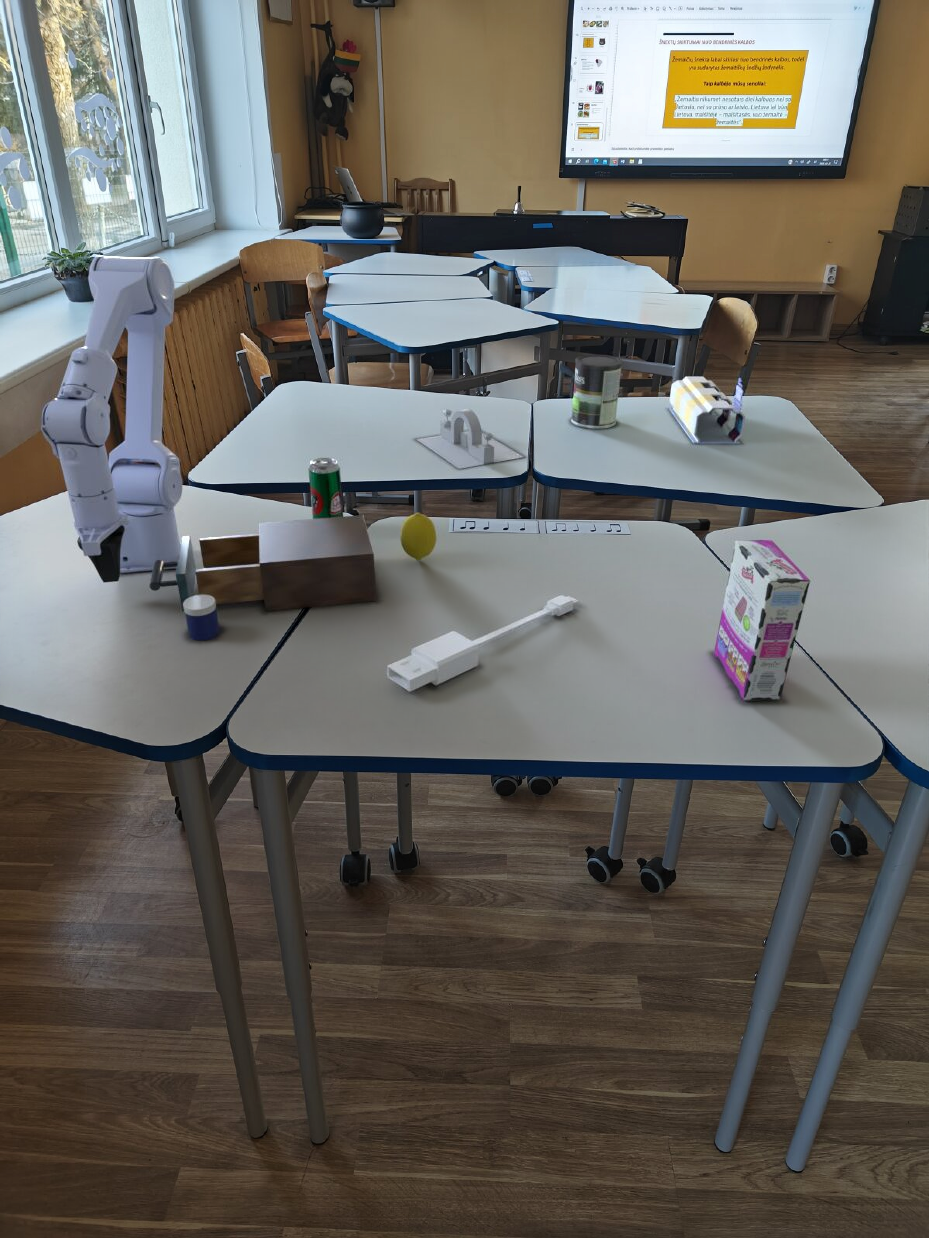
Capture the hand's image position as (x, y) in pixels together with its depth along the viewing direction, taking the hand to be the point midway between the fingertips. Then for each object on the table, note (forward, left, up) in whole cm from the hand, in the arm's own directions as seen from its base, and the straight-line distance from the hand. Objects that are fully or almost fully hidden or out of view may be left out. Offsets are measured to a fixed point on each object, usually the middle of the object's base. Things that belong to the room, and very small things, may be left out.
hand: (111, 579), depth 120 cm
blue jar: (+13, -11, -4) cm, 17 cm away
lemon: (+45, +5, -4) cm, 45 cm away
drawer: (+15, 0, -3) cm, 15 cm away
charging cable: (+50, -22, -4) cm, 54 cm away
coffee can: (+96, +67, -4) cm, 117 cm away
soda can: (+32, +19, -4) cm, 37 cm away
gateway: (+64, +55, -4) cm, 84 cm away
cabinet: (+29, 0, -4) cm, 29 cm away
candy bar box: (+80, -35, -4) cm, 87 cm away
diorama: (+119, +60, -4) cm, 134 cm away
